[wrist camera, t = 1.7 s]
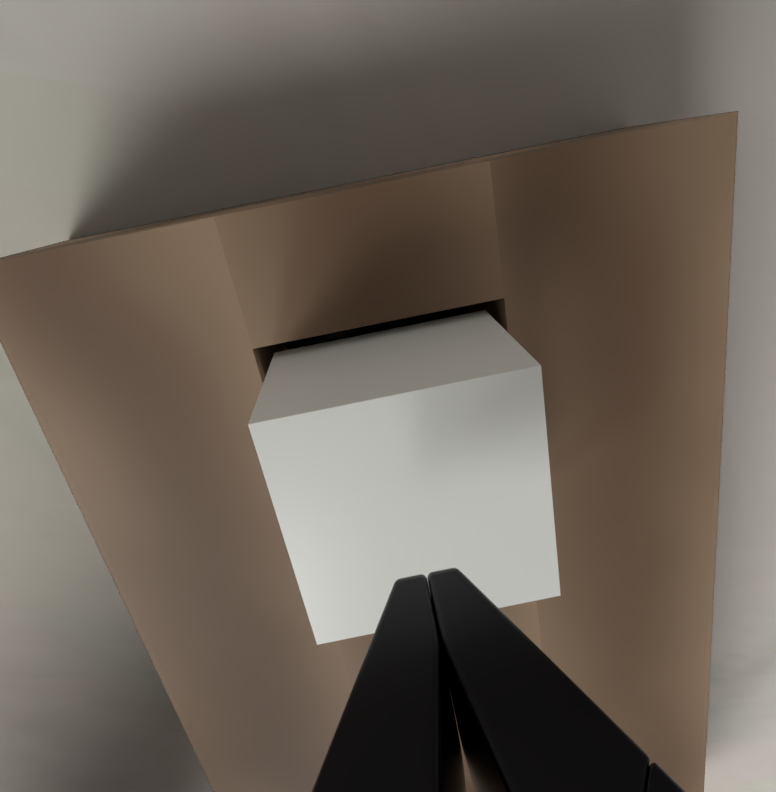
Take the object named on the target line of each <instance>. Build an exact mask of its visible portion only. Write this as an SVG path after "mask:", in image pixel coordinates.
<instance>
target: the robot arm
mask: <svg viewBox="0 0 776 792" xmlns="http://www.w3.org/2000/svg"><path fill="white" fill-rule="evenodd" d="M427 578H428V581H427ZM427 578H426V576H425V575H423V574H419V575H414V576H409V577H404V578H400V579H397V580H396V581H395V583H394V585H393V587H392V590H391V592H390V595H389V597H388V600H387V602H386V605H385V607H384V610H383V613H382V615H381V618H380V620H379V623H378V625H377V628H376V630H375V633H374V635H373V638H372V640H371V643H370V645H369V648H368V650H367V653H366V655H365V658H364V660H363V663H362V666H361V668H360V671H359V673H358V676H357V678H356V681H355V683H354V686H353V688H352V691H351V693H350V696H349V698H348V701H347V703H346V706H345V708H344V711H343V713H342V716H341V719H340V721H339V724H338V726H337V729H336V731H335V734H334V736H333V739H332V741H331V744H330V746H329V749H328V751H327V754H326V756H325V759H324V761H323V764H322V766H321V769H320V771H319V774H318V777H317V779H316V782H315V784H314V787H313V789H312V792H466V783H465V773H464V765H463V756H462V750H461V744H462V748H463V752H464V756H465V759H466V763H467V766H468V769H469V773H470V776H471V779H472V782H473V785H474V788H475V791H476V792H686V791H684V790H683V789H682V788H681V787H680V786H679V785H678V784H677V783H676V782H675V781H674V780H673V779H672V778H671V777H670V776H669V775H668V774H667V773H666V772H665V771H664V770H663V769H662V768H661V767H660V766H659V765H658V764H657V763H651V764H650V757H649V756H648V755H647V754H646V753H645V752H644V751H643V750H642V749H641V748H640V747H639V746H638V745H637V744H636V743H635V742H634V741H633V740H632V739H631V738H630V737H629V736H628V735H627V734H626V733H625V732H624V731H623V730H622V729H621V728H620V727H619V726H618V725H617V724H616V723H615V722H614V721H613V720H612V719H611V718H610V717H609V716H608V715H607V714H606V713H605V712H604V711H603V710H602V709H601V708H600V707H599V706H598V705H597V704H596V703H595V702H594V701H592V700H591V699H590V698H589V697H588V696H587V695H586V694H585V693H584V692H583V691H582V690H581V689H580V688H579V687H578V686H577V685H576V684H575V683H574V682H573V681H572V680H571V679H570V678H569V677H568V676H567V675H566V674H565V673H564V672H563V671H562V670H561V669H560V668H559V667H558V666H557V665H556V664H555V663H554V662H553V661H552V660H551V659H550V658H549V657H548V656H547V655H546V654H545V653H544V652H543V651H542V650H541V649H540V648H539V647H538V646H536V645H535V644H534V643H533V642H532V641H531V640H530V639H529V638H528V637H527V636H526V635H525V634H524V633H523V632H522V631H521V630H520V629H519V628H518V627H517V626H516V625H515V624H514V623H513V622H512V621H511V620H510V619H509V618H508V617H507V616H506V615H505V614H504V613H503V612H502V611H501V610H500V609H499V608H498V607H497V606H496V605H495V604H494V603H493V602H492V601H491V600H490V599H489V598H488V597H487V596H486V595H485V594H484V593H483V592H482V591H481V590H479V589H478V588H477V587H476V586H475V585H474V584H473V583H472V582H471V581H470V580H469V579H468V578H467V577H466V576H465V575H464V574H463V573H462V572H461V571H460V570H459V569H457V568H449V569H444V570H439V571H434V572H431V573H429V574H428V577H427ZM428 584H429V585H428ZM429 589H430V590H429ZM430 594H431V595H430ZM450 692H451V693H450ZM451 697H452V698H451ZM452 702H453V703H452ZM453 707H454V708H453ZM454 712H455V713H454ZM455 716H456V718H455ZM456 721H457V723H456ZM457 726H458V728H457ZM458 731H459V733H458ZM459 735H460V739H459ZM460 740H461V744H460Z"/></svg>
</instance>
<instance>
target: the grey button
mask: <svg viewBox="0 0 776 792" xmlns="http://www.w3.org/2000/svg"><path fill="white" fill-rule="evenodd" d="M248 426H249V429H250V433H251V436H252V439H253V442H254V445H255V449H256V452H257V455H258V458H259V461H260V464H261V468H262V471H263V474H264V477H265V480H266V484H267V487H268V490H269V493H270V496H271V500H272V503H273V506H274V509H275V512H276V515H277V519H278V522H279V525H280V528H281V531H282V535H283V538H284V541H285V544H286V547H287V551H288V554H289V557H290V560H291V563H292V566H293V570H294V573H295V576H296V579H297V582H298V586H299V589H300V592H301V595H302V598H303V601H304V605H305V608H306V611H307V614H308V617H309V621H310V624H311V627H312V630H313V633H314V637H315V640H316V643H317V645H319V644H324V643H329V642H334V641H339V640H344V639H349V638H353V637H358V636H363V635H368V634H373V633H375V630H376V628H377V625H378V623H379V620H380V618H381V615H382V613H383V610H384V607H385V605H386V602H387V600H388V597H389V595H390V592H391V590H392V587H393V585H394V583H395V581H396V580H397V579H400V578H404V577H409V576H414V575H419V574H423V575H425V576H426V578H427V577H428V574H429V573H431V572H434V571H439V570H444V569H449V568H457V569H459V570H460V571H461V572H462V573H463V574H464V575H465V576H466V577H467V578H468V579H469V580H470V581H471V582H472V583H473V584H474V585H475V586H476V587H477V588H478V589H479V590H481V591H482V592H483V593H484V594H485V595H486V596H487V597H488V598H489V599H490V600H491V601H492V602H493V603H494V604H495V605H496V606H497V607H498V608H502V607H507V606H512V605H517V604H522V603H526V602H531V601H536V600H541V599H546V598H551V597H556V596H561V594H560V582H559V570H558V558H557V547H556V535H555V523H554V511H553V499H552V488H551V476H550V464H549V452H548V441H547V429H546V417H545V405H544V393H543V382H542V370H541V365H540V364H539V363H538V362H537V361H536V360H535V359H534V358H533V357H532V356H531V355H530V354H529V353H528V352H527V351H526V350H525V349H524V348H523V347H522V346H521V345H520V344H519V343H518V342H517V341H516V340H515V339H514V338H513V337H512V336H511V335H510V334H509V333H508V332H507V331H506V330H505V329H504V328H503V327H502V326H501V325H500V324H499V323H498V322H497V321H496V320H495V319H494V318H493V317H492V316H491V315H490V314H489V313H488V312H486V311H485V310H483V311H478V312H473V313H468V314H463V315H458V316H453V317H448V318H443V319H438V320H433V321H428V322H423V323H418V324H413V325H408V326H403V327H398V328H394V329H389V330H384V331H379V332H374V333H369V334H364V335H359V336H354V337H349V338H344V339H339V340H334V341H329V342H324V343H319V344H314V345H309V346H304V347H299V348H295V349H290V350H285V351H280V352H275V353H274V355H273V358H272V360H271V363H270V366H269V369H268V371H267V374H266V377H265V380H264V382H263V385H262V388H261V390H260V393H259V396H258V399H257V401H256V404H255V407H254V409H253V412H252V415H251V418H250V420H249V423H248ZM427 581H428V578H427ZM428 585H429V584H428ZM429 590H430V589H429ZM430 595H431V594H430Z"/></svg>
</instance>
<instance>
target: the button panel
mask: <svg viewBox="0 0 776 792" xmlns="http://www.w3.org/2000/svg"><path fill="white" fill-rule="evenodd" d="M737 124H738V111H734V112H728V113H721V114H714V115H707V116H700V117H693V118H687V119H680V120H673V121H666V122H659V123H652V124H646V125H639V126H632V127H627V128H622V129H617V130H612V131H607V132H602V133H597V134H592V135H587V136H582V137H577V138H572V139H567V140H562V141H557V142H552V143H547V144H543V145H538V146H533V147H528V148H523V149H518V150H513V151H508V152H503V153H498V154H493V155H488V156H483V157H478V158H473V159H468V160H463V161H458V162H453V163H448V164H443V165H439V166H434V167H429V168H424V169H419V170H414V171H409V172H404V173H399V174H394V175H389V176H384V177H379V178H374V179H369V180H364V181H359V182H354V183H349V184H344V185H339V186H334V187H330V188H325V189H320V190H315V191H310V192H305V193H300V194H295V195H290V196H285V197H280V198H275V199H270V200H265V201H260V202H255V203H250V204H245V205H240V206H235V207H230V208H226V209H221V210H216V211H211V212H206V213H201V214H196V215H191V216H186V217H181V218H176V219H171V220H166V221H161V222H156V223H151V224H146V225H141V226H136V227H131V228H126V229H122V230H117V231H112V232H107V233H102V234H97V235H92V236H87V237H82V238H77V239H72V240H67V241H63V242H59V243H56V244H52V245H48V246H44V247H40V248H36V249H32V250H29V251H25V252H21V253H17V254H13V255H9V256H6V257H2V258H0V342H1V344H2V346H3V348H4V350H5V352H6V355H7V357H8V359H9V361H10V363H11V365H12V367H13V369H14V371H15V374H16V376H17V378H18V380H19V382H20V384H21V386H22V388H23V390H24V393H25V395H26V397H27V399H28V401H29V403H30V405H31V407H32V409H33V412H34V414H35V416H36V418H37V420H38V422H39V424H40V426H41V428H42V431H43V433H44V435H45V437H46V439H47V441H48V443H49V445H50V447H51V450H52V452H53V454H54V456H55V458H56V460H57V462H58V464H59V466H60V468H61V471H62V473H63V475H64V477H65V479H66V481H67V483H68V485H69V487H70V490H71V492H72V494H73V496H74V498H75V500H76V502H77V504H78V506H79V509H80V511H81V513H82V515H83V517H84V519H85V521H86V523H87V525H88V528H89V530H90V532H91V534H92V536H93V538H94V540H95V542H96V544H97V547H98V549H99V551H100V553H101V555H102V557H103V559H104V561H105V563H106V566H107V568H108V570H109V572H110V574H111V576H112V578H113V580H114V582H115V585H116V587H117V589H118V591H119V593H120V595H121V597H122V599H123V601H124V604H125V606H126V608H127V610H128V612H129V614H130V616H131V618H132V620H133V623H134V625H135V627H136V629H137V631H138V633H139V635H140V637H141V639H142V642H143V644H144V646H145V648H146V650H147V652H148V654H149V656H150V658H151V661H152V663H153V665H154V667H155V669H156V671H157V673H158V675H159V677H160V680H161V682H162V684H163V686H164V688H165V690H166V692H167V694H168V696H169V699H170V701H171V703H172V705H173V707H174V709H175V711H176V713H177V715H178V717H179V720H180V722H181V724H182V726H183V728H184V730H185V732H186V734H187V736H188V739H189V741H190V743H191V745H192V747H193V749H194V751H195V753H196V755H197V758H198V760H199V762H200V764H201V766H202V768H203V770H204V772H205V774H206V777H207V779H208V781H209V783H210V785H211V787H212V789H213V791H214V792H312V789H313V787H314V784H315V782H316V779H317V777H318V774H319V771H320V769H321V766H322V764H323V761H324V759H325V756H326V754H327V751H328V749H329V746H330V744H331V741H332V739H333V736H334V734H335V731H336V729H337V726H338V724H339V721H340V719H341V716H342V713H343V711H344V708H345V706H346V703H347V701H348V698H349V696H350V693H351V691H352V688H353V686H354V683H355V681H356V678H357V676H358V673H359V671H360V668H361V666H362V663H363V660H364V658H365V655H366V653H367V650H368V648H369V645H370V643H371V640H372V638H373V635H374V633H373V634H368V635H363V636H358V637H353V638H349V639H344V640H339V641H334V642H329V643H324V644H319V645H317V643H316V640H315V637H314V633H313V630H312V627H311V624H310V621H309V617H308V614H307V611H306V608H305V605H304V601H303V598H302V595H301V592H300V589H299V586H298V582H297V579H296V576H295V573H294V570H293V566H292V563H291V560H290V557H289V554H288V551H287V547H286V544H285V541H284V538H283V535H282V531H281V528H280V525H279V522H278V519H277V515H276V512H275V509H274V506H273V503H272V500H271V496H270V493H269V490H268V487H267V484H266V480H265V477H264V474H263V471H262V468H261V464H260V461H259V458H258V455H257V452H256V449H255V445H254V442H253V439H252V436H251V433H250V429H249V426H248V423H249V420H250V418H251V415H252V412H253V409H254V407H255V404H256V401H257V399H258V396H259V393H260V390H261V388H262V385H263V382H264V380H265V377H266V374H267V371H268V369H269V366H270V363H271V360H272V358H273V355H274V353H275V352H280V351H285V350H287V346H286V342H289V341H294V340H299V339H304V338H309V337H314V336H319V335H324V334H329V333H334V332H339V331H344V330H349V329H354V328H359V327H364V326H369V325H374V324H378V323H383V322H388V321H393V320H398V319H403V318H408V317H413V316H418V315H423V314H428V313H433V312H438V311H443V310H448V309H453V308H458V307H463V306H468V305H469V313H473V312H478V311H483V310H485V311H486V312H488V313H489V314H490V315H491V316H492V317H493V318H494V319H495V320H496V321H497V322H498V323H499V324H500V325H501V326H502V327H503V328H504V329H505V330H506V331H507V332H508V333H509V334H510V335H511V336H512V337H513V338H514V339H515V340H516V341H517V342H518V343H519V344H520V345H521V346H522V347H523V348H524V349H525V350H526V351H527V352H528V353H529V354H530V355H531V356H532V357H533V358H534V359H535V360H536V361H537V362H538V363H539V364H540V365H541V370H542V382H543V393H544V405H545V417H546V429H547V441H548V452H549V464H550V476H551V488H552V499H553V511H554V523H555V535H556V547H557V558H558V570H559V582H560V594H561V596H556V597H551V598H546V599H541V600H536V601H531V602H526V603H522V604H517V605H512V606H507V607H502V608H499V609H500V610H501V611H502V612H503V613H504V614H505V615H506V616H507V617H508V618H509V619H510V620H511V621H512V622H513V623H514V624H515V625H516V626H517V627H518V628H519V629H520V630H521V631H522V632H523V633H524V634H525V635H526V636H527V637H528V638H529V639H530V640H531V641H532V642H533V643H534V644H535V645H536V646H538V647H539V648H540V649H541V650H542V651H543V652H544V653H545V654H546V655H547V656H548V657H549V658H550V659H551V660H552V661H553V662H554V663H555V664H556V665H557V666H558V667H559V668H560V669H561V670H562V671H563V672H564V673H565V674H566V675H567V676H568V677H569V678H570V679H571V680H572V681H573V682H574V683H575V684H576V685H577V686H578V687H579V688H580V689H581V690H582V691H583V692H584V693H585V694H586V695H587V696H588V697H589V698H590V699H591V700H592V701H594V702H595V703H596V704H597V705H598V706H599V707H600V708H601V709H602V710H603V711H604V712H605V713H606V714H607V715H608V716H609V717H610V718H611V719H612V720H613V721H614V722H615V723H616V724H617V725H618V726H619V727H620V728H621V729H622V730H623V731H624V732H625V733H626V734H627V735H628V736H629V737H630V738H631V739H632V740H633V741H634V742H635V743H636V744H637V745H638V746H639V747H640V748H641V749H642V750H643V751H644V752H645V753H646V754H647V755H648V756H649V757H650V764H651V763H657V764H658V765H659V766H660V767H661V768H662V769H663V770H664V771H665V772H666V773H667V774H668V775H669V776H670V777H671V778H672V779H673V780H674V781H675V782H676V783H677V784H678V785H679V786H680V787H681V788H682V789H683V790H684V791H686V792H704V777H705V757H706V737H707V718H708V698H709V678H710V658H711V639H712V619H713V599H714V579H715V559H716V540H717V520H718V500H719V480H720V460H721V441H722V421H723V401H724V381H725V361H726V342H727V322H728V302H729V282H730V262H731V243H732V223H733V203H734V183H735V163H736V144H737ZM450 693H451V692H450ZM451 698H452V697H451ZM452 703H453V702H452ZM453 708H454V707H453ZM454 713H455V712H454ZM455 718H456V716H455ZM456 723H457V721H456ZM457 728H458V726H457ZM458 733H459V731H458ZM459 739H460V735H459ZM460 744H461V740H460ZM461 750H462V756H463V765H464V773H465V783H466V792H476V791H475V788H474V785H473V782H472V779H471V776H470V773H469V769H468V766H467V763H466V759H465V756H464V752H463V748H462V744H461Z"/></svg>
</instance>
